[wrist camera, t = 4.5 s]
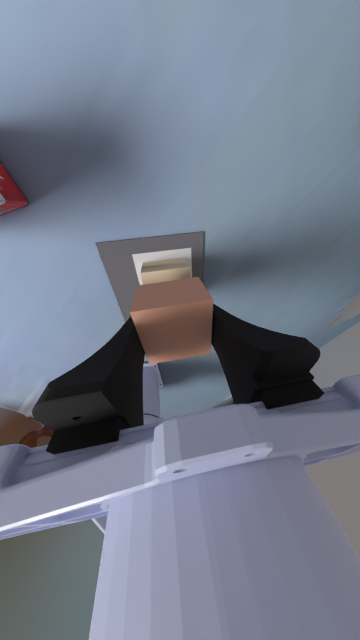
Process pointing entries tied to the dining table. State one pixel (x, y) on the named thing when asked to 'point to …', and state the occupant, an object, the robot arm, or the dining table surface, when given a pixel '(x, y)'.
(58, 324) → the dining table surface
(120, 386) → the robot arm
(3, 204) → the ink box
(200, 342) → the terracotta block
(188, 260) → the grey flat panel
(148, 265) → the beech block
